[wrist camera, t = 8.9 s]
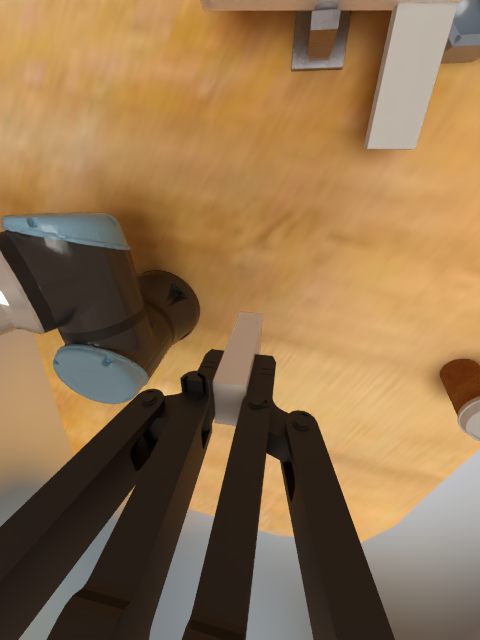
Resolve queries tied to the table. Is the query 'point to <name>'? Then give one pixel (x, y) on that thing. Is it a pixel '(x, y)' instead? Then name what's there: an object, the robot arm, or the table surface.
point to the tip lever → (388, 59)
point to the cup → (464, 34)
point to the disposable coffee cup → (464, 393)
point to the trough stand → (320, 39)
